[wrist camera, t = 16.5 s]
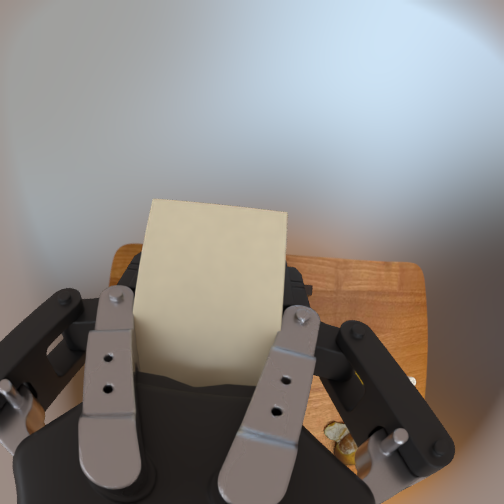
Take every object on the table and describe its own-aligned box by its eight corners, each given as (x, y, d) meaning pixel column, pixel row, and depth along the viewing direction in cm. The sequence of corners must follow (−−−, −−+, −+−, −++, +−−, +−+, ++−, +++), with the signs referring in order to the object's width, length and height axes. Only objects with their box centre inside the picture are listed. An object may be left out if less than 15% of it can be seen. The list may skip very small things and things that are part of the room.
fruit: (372, 409, 35) (384, 415, 31) (372, 452, 33) (383, 460, 29) (323, 424, 34) (332, 432, 30) (325, 468, 32) (333, 478, 28)
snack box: (177, 355, 17) (126, 383, 7) (187, 265, 18) (152, 197, 9) (247, 362, 17) (275, 401, 8) (254, 272, 19) (288, 211, 9)
